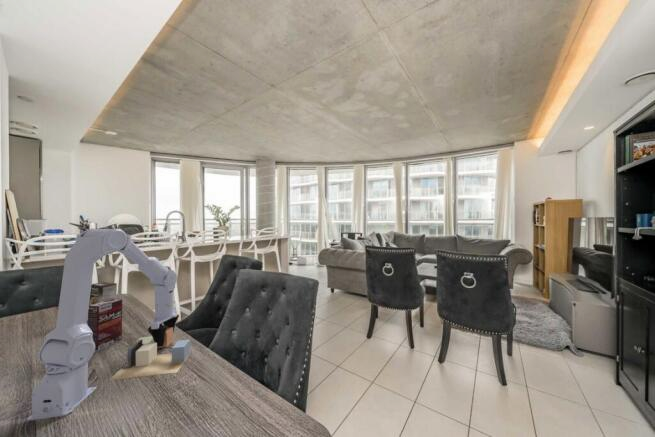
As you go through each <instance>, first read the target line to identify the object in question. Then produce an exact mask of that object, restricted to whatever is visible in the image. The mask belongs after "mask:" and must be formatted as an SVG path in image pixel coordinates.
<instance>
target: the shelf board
mask: <svg viewBox="0 0 655 437" xmlns="http://www.w3.org/2000/svg"><path fill="white" fill-rule="evenodd" d="M190 354H192V351H191V350H190ZM190 354H189V355H188V357H187V358H186V359H185V361H182V362H172V352H171V353H163V354H157V357H156V358H155V359H154V360H153V361H152V362H151V363H150V364H149V365H144V366H136V363H135V364H134V365H133V366H132V367H131V368H123V369H122V367H121V368H120V369H119V370H118V371H117V372H116V373H115V374H114V375H112V376H111V377H110V378H109V379H108V381H115V380H116V381H117V380H122V379H123V380H125V379H132V378H142V377H151V376H161V375H167V374H177V373H178V372H179V371H180V370H181V368H182V366H183V365H184V363H185V362H186V360H188V358H189V356H190Z"/></svg>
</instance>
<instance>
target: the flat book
mask: <svg viewBox="0 0 655 437" xmlns="http://www.w3.org/2000/svg"><path fill="white" fill-rule="evenodd" d="M139 340H142V346H143V345H144V344H146V343H153V341H154V339H153V337H152V335H150V336H143V337H139V338H138V339H137V340H136V342H138V341H139Z"/></svg>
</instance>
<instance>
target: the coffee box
mask: <svg viewBox="0 0 655 437" xmlns="http://www.w3.org/2000/svg"><path fill="white" fill-rule="evenodd" d="M117 284H118V283H116V282H106V281H102V282H97V283H92V284H91V292H90V301H89V306H90V305H93V304H97V303H100V302H104V301H108V300H111V299H118V298H117V296H118V295H117V293H118V292H117V290H118V286H117Z"/></svg>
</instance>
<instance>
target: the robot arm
mask: <svg viewBox="0 0 655 437" xmlns="http://www.w3.org/2000/svg"><path fill="white" fill-rule="evenodd" d="M116 252H117V253H121V255H124V256H125V257H127V258H128V259H129V260H131V261H133V263H135V264H136V265H138V266H137V269H138V271H140V272H141V273H142V274H143V275H144V276H146V277H147V278H148V279H149V281H150V284H151V285H152V286H154V317H153V321H152V322H151V324H150V326H149V327H148V328H147V331H148V332H149V334H150V336H152V337H153V343H157V347H160V346H163V344H164V339H165V333H166V330H167V328H172V327H173V334H174V332H175V329H176V325H177V322H178V319H179V317H180V314H178V313H177V309H176V308H177V307H176V308H175V303H174V302H175V295H174V294H175V293H174V292H175V289H176V283H177V282H178V278H179V276H178V274H177V273H176V271H175V270H172V269H169V268H168V267H167V265H164V264H163V263H162V262H161V261H160V258H158V257H157V256H156V257H155V256H148V255H147V254H146V253H145V252H144V251H143V250H141V248H140V247H139V246H138V245H136V244H135V243H134V241H133V240H132V237H131V236H130V235H129V234H128V233H126V232H125V231H124V230H123V229H121V228H101V229H100V228H88V229H86V230H84V231H82V232H80V233H78V234H77V235H76V238H75V242H74V243H73V245H72V246H71V247H70V249H69V250H68V252H66V254H65V258H64V265H63V272H62V279H61V287H60V295H59V301H58V307H57V308H58V310H57V316H56V323H55V324H56V325H55V328H54V329H52V330H51V331H50V332H48V333H47V334H46V335H45V339H44V343H43V344H42V346H41V347H40V349H39V351H38V354H37V357H38V358H37V359H38V361H39V362H40V363H42V364H45V365H44V367H45V368H44V369H45V374H44V376H43V377H42V379H41V380H40V381H39V382H38V383H37V384H36V385H35V387H33V389H32V392H31V415H30V416H28V417H26V420H27V421H33V420H42V419H48V418H49V419H50V418H56V417H65V416H68V415H69V414H70V413H71V411H72V410H74V409H75V408H76V407H77V406H78V405H80V403H81V402H83V401H84V400H85V399H87V397H88V396H89V395H90V394H91V393H93V392H94V391H95V390H96V389H97V386H93V387H92V386H91V387H88V385H89V384H88V380H89V376H88V375H89V374H88V373H89V370H88V369H89V368H88V367H89V366H88V365H89V364H88V363H89V362H90V359H91V358H92V357H93V356H94V354H95V352H94V351H95V343H94V341H93V332H92V330H91V329H90V328H89V326H88V309H89V301H90V292H91V284H93V283H92V282H93V275H94V268H95V267H94V266H95V265H94V264H95V263H96V262H98V261H99V260H100V259H102V258H103V257H105V256H108V255H111V254H113V253H116Z"/></svg>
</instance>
